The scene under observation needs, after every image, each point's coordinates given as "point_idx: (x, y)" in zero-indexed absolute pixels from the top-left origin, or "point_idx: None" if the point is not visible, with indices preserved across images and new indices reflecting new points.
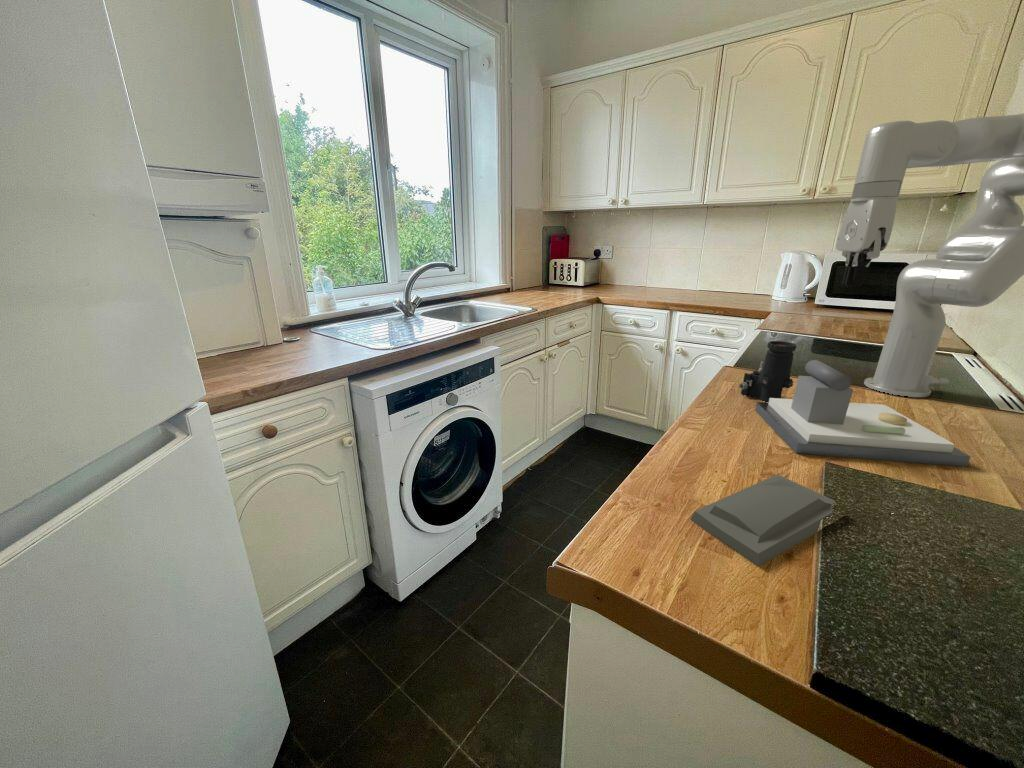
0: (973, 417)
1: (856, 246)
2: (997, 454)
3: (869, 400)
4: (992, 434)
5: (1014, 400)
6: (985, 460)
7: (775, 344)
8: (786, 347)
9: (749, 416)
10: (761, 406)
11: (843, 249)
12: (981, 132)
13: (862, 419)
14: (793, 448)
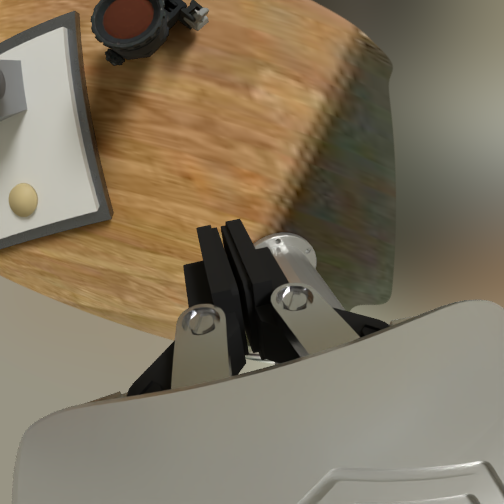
0: (174, 313)
1: (84, 445)
2: (49, 287)
3: (202, 214)
4: (115, 308)
5: (261, 361)
6: (25, 269)
7: (152, 4)
8: (92, 23)
9: (49, 8)
10: (52, 19)
11: (349, 346)
12: None
13: (10, 160)
14: None
